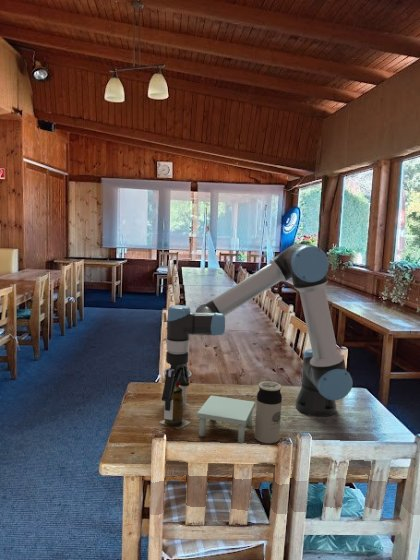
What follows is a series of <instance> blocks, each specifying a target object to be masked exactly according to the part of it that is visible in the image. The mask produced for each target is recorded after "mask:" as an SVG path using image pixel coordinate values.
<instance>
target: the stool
mask: <svg viewBox="0 0 420 560" xmlns="http://www.w3.org/2000/svg"><path fill="white" fill-rule="evenodd" d="M255 407H256V402H255V401H251V400H250V401H249V400H243V399H237V398H231V397H230V398H229V397H226V396H225V397H224V396H219V395H218V396H217V395H210V396H209V397H208V398H207V400H206V401H205V402H204V403H203V405H202V406H201V407H200V408H199V410H198V411H197V415H196V417H197V418H199V424H198V425H199V426H198V429H199V432H198V436H199V437H205V436H206V426H207V425H206V422H207V420H210V421H218V422H224V423H230V424H236V425H238V430H237V431H238V432H237V443H238V444H244V443H245V429H246V427H252V424H253V411H254V408H255Z"/></svg>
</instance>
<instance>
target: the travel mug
mask: <svg viewBox="0 0 420 560" xmlns="http://www.w3.org/2000/svg"><path fill="white" fill-rule="evenodd" d="M258 389H259V391H257V393H256V404H255V407H256V409H255V426H254V427H255V428H254V438H255V439H256V440H257V441H259V442H261V443H264V444H273V443H277V442H279V440H280V432H281V414H282V401H283V400H282V399H283V396H282V394H281V390H282V385H281V384H280V383H278V382H275V381H261V382H259V383H258Z"/></svg>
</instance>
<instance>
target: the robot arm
mask: <svg viewBox="0 0 420 560" xmlns="http://www.w3.org/2000/svg"><path fill="white" fill-rule="evenodd" d="M329 265H330V263H329V259H328V255H327V254H326V253H325V252H324V250H323V249H321V248H319V247H318V246H316V245H313V244H305V243H295V244H293V245H290V246H288V247H287V248H286V249H284V250H283V251H281V252H280V253H279V254H277V255H275V256H274V257H273V258H271V259H270V262H269V263H268V264H267V265H265V266H264V267H262V268H261V269H258V270H257V271H255V272H254V273H252V274H251V275H249V276H248V277H246V278H245V279H243V280H242V281H240V282H238V283H236V284H235V285H233V286H232V287H231V288H229V289H227V290H225V291H224V292H222V293H221V294H219V295H218V296H216V297H214V298H213V299H212V300H210V301H208V302H206V303H202V304H200V305H199V306H197V308H196V309H195V311H194V312H193V311H191V309H190V306H188V305H181V304H177V305H176V304H175V305H171V306H169V307H168V309H167V316H166V317H167V318H166V319H167V321H166V340H165V344H166V353H165V362H166V363H167V364H169V366H170V367H169V368H170V370H167V371H166V378H165V381H164V384H163V391H162V397H161V401H163V402H164V406H163V407H164V411H163V420H165V419H169V420H172V419H173V400H172V398H173V394H174V390H175V386H176V383H177V382H178V381H179V383H180V385H179V387H180V388H181V389H182V396H183V405H186V404H187V388H188V387H189V386H190V378H189V377H188V365H187V363H189V350H190V349H189V347H190V335H192V336H194V335H196V336H197V335H199V336H213V337H215V336H223V335H224V334H225V330H226V316H227V315H229V314H230V313H232V312H234V311H235V310H237V309H239V308H240V307H242V306H243V305H245V304H246V303H247V302H248V303H249V301H251V300H253V299H254V298H256V297H257V296H259V295H261V294H262V293H264V292H265V291H267V290H269V289H270V288H272V287H273V286H275V285H277V284H278V283H280V282H287V281H288V280H290V279H291V280H292V284H293V285H292V286H293V288H294V289H295V290H297V291H298V292H299V296H300V301H301V305H302V310H303V315H304V319H305V325H306V329H307V334H308V338H309V339H308V340H309V343H310V349H309V348H308V349H305V351H304V353H303V357H302V360H303V362H302V373H301V374H302V376H301V387H300V390H299V393H298V395H297V397H296V399H295V408H296V409H297V410H298V411H299V412H300V413H303V414H306V415H310V416H314V417H329V416H333V415H334V414H336V412H337V403H336V401H340V400H342V399H344V398H346V397H348V394H349V393H350V392H351V391H352V388H353V384H354V383H353V378H352V376H351V374H350V372H349V371H347V367H346V363H345V362H346V361H345V357H344V355H343V354H341V353H340V352H339V351H338V345H337V341H336V337H335V331H334V325H333V322H332V321H333V320H332V316H331V310H330V306H329V302H328V296H327V292H326V286H327V284H328V282H329V279H328V270H329V267H330V266H329ZM187 382H188V383H187Z"/></svg>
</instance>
